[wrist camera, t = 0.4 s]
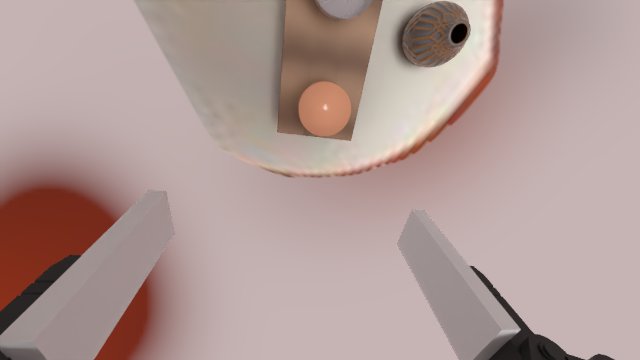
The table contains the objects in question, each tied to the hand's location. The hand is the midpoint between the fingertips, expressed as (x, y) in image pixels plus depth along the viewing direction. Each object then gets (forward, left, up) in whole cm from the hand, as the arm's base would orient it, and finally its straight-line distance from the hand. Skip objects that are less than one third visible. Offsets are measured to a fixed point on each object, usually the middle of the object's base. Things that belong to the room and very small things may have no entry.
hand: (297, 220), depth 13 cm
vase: (-12, +16, -26) cm, 33 cm away
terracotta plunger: (-3, +3, -21) cm, 21 cm away
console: (-9, +3, -26) cm, 27 cm away
